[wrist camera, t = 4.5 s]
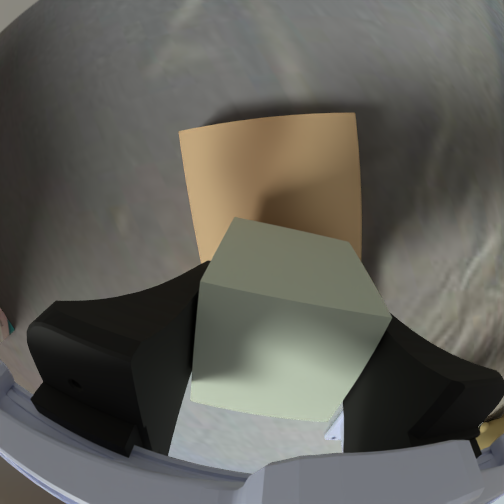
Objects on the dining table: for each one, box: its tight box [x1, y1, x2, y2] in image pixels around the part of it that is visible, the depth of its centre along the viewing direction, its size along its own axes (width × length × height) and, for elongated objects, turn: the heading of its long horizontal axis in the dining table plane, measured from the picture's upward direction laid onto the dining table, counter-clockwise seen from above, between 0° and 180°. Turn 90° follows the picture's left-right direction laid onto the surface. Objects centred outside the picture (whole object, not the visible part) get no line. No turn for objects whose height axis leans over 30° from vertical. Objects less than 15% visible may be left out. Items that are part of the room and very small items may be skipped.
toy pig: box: [476, 414, 504, 450], centre depth 20 cm, size 10×12×11 cm
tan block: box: [179, 113, 362, 264], centre depth 15 cm, size 8×14×3 cm, turn 7°
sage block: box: [190, 217, 392, 422], centre depth 10 cm, size 5×5×6 cm
